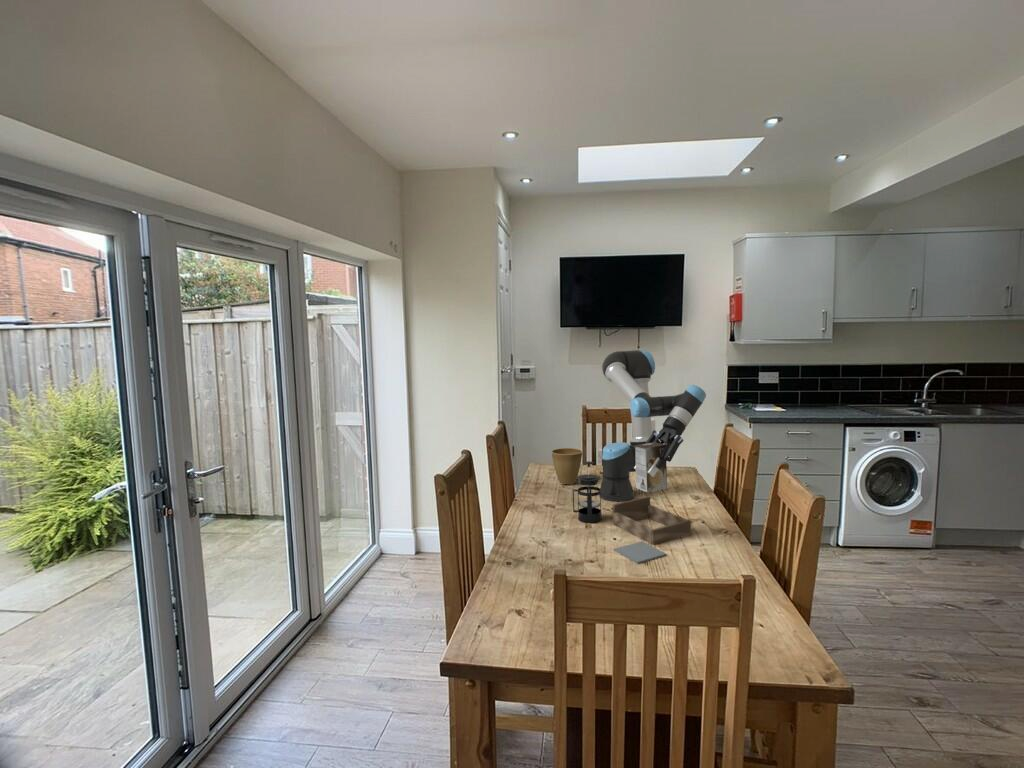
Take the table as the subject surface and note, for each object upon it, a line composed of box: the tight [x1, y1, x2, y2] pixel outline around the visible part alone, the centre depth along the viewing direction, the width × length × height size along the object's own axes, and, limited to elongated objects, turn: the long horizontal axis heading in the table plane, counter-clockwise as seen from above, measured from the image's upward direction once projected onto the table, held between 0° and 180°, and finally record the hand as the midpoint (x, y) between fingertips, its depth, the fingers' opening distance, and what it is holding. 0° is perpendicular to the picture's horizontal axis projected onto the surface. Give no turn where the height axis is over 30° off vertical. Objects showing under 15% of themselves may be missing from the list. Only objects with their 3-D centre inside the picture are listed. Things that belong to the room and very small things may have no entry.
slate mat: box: [613, 540, 667, 565], centre depth 176 cm, size 12×12×1 cm
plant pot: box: [551, 447, 583, 485], centre depth 258 cm, size 15×15×16 cm
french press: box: [572, 460, 603, 524], centre depth 208 cm, size 12×9×23 cm
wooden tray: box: [612, 496, 692, 546], centre depth 196 cm, size 22×17×8 cm
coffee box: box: [635, 442, 668, 493], centre depth 190 cm, size 9×6×16 cm
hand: (643, 472), depth 188 cm, fingers closed on coffee box, 7 cm apart
